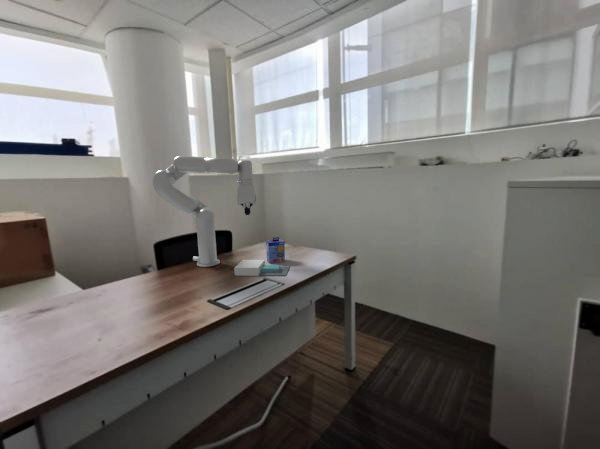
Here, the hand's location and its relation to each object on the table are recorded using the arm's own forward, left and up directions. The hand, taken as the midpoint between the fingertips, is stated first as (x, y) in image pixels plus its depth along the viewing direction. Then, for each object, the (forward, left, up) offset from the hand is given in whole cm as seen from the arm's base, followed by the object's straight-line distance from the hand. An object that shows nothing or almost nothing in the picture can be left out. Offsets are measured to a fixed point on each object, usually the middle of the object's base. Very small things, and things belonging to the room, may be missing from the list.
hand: (247, 214), depth 160 cm
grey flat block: (+6, -20, -27) cm, 34 cm away
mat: (+19, -20, -27) cm, 39 cm away
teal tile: (+17, -20, -27) cm, 37 cm away
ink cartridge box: (+16, -2, -27) cm, 32 cm away
